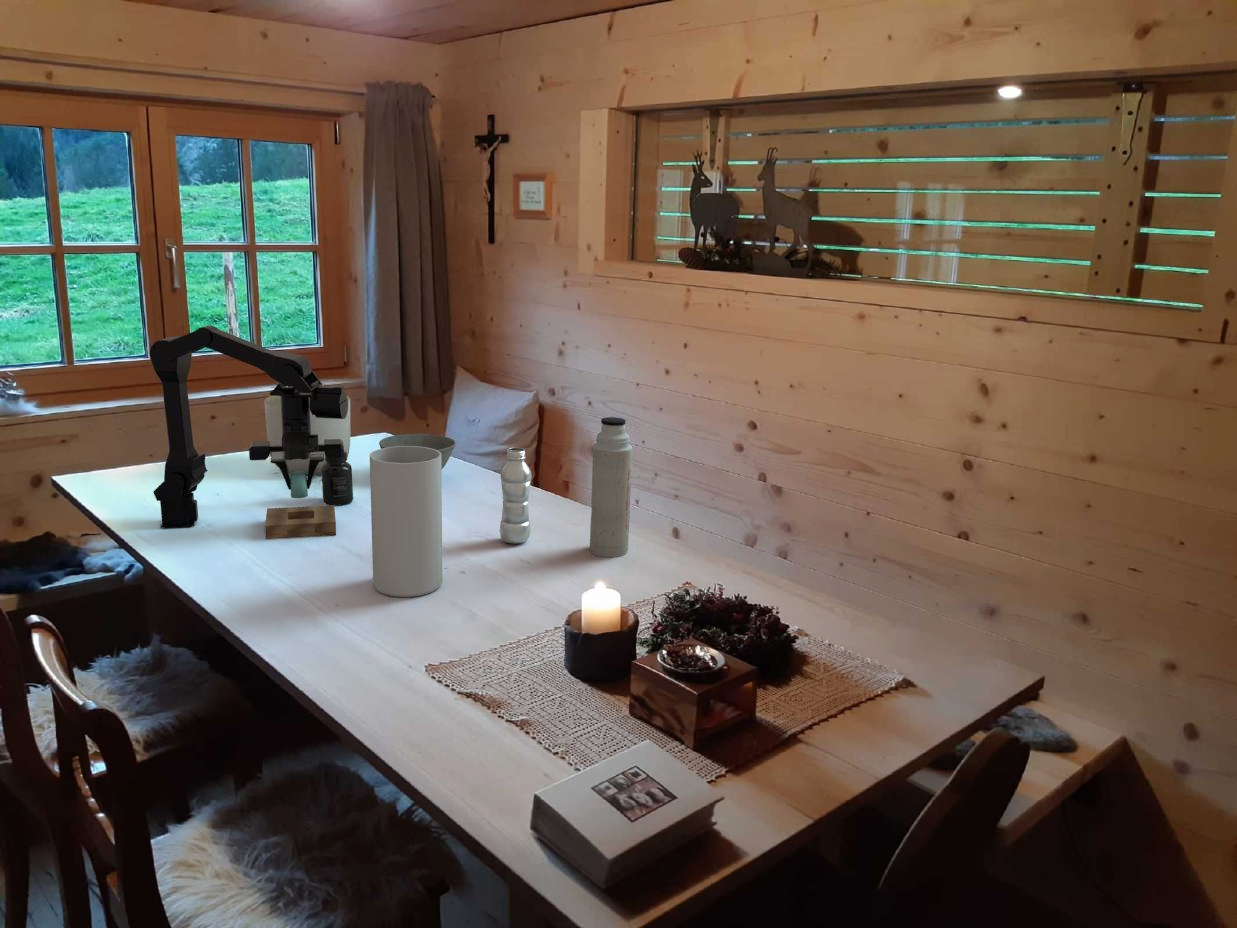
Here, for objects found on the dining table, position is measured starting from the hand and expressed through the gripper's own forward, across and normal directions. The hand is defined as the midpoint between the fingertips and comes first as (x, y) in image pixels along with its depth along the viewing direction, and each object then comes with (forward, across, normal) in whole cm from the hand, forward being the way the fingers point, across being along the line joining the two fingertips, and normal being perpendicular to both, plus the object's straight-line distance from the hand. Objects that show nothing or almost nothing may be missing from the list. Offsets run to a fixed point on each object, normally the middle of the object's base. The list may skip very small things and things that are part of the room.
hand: (299, 488), depth 206 cm
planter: (+9, +2, +47) cm, 48 cm away
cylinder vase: (+9, +19, -37) cm, 43 cm away
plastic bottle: (+9, +43, -17) cm, 47 cm away
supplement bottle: (+9, +8, +18) cm, 22 cm away
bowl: (+9, +28, +34) cm, 45 cm away
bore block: (+9, 0, 0) cm, 9 cm away
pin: (+2, 0, 0) cm, 2 cm away
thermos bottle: (+9, +61, -26) cm, 67 cm away
